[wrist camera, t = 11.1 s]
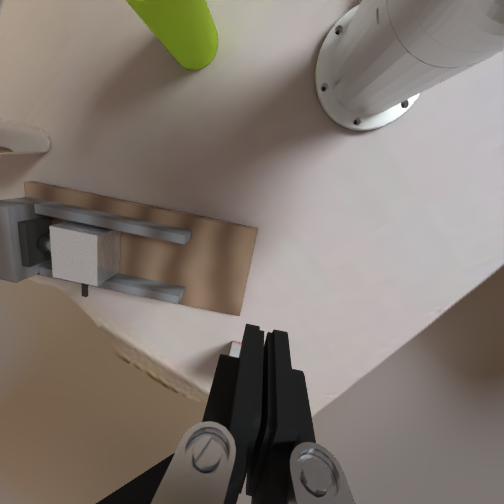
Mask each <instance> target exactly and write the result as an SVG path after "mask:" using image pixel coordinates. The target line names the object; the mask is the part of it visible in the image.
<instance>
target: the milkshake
mask: <svg viewBox="0 0 504 504" xmlns="http://www.w3.org/2000/svg"><path fill="white" fill-rule="evenodd" d="M50 146H51V144H50V139H49V136H48V135H47V134H46V133H45V131H44V130H41V129H39V128H36V127H33V126H29V125H25V124H21V123H18V122H14V121H10V120H6V119H3V118H0V155H3V154H42V153H45V152H48V150H49V148H50Z"/></svg>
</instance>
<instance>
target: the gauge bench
mask: <svg viewBox="0 0 504 504" xmlns="http://www.w3.org/2000/svg"><path fill="white" fill-rule="evenodd" d="M24 187H25V197H24V198H16V199H7V200H0V279H1V280H6V281H11V282H16V283H17V282H19V281H21V280H23V279H26V278H28V277H30V276H32V275H35V274H39V275H42V276H47V277H52V278H55V277H53V273H52V258H51V252H46V251H41V250H39V249H38V247H37V241H38V239H39V237H40V236H41V235H43V234H50V227H49V226H51V225H55V224H59V223H63V222H67V221H75V222H80V223H84V224H89V225H94V226H99V227H104V228H108V229H113V230H118V231H120V255H119V272H118V273H116V274H115V275H113V276H112V277H110V278H109V279H108V280H106V281H105V282H103V283H102V284H100V285H99V286H95V287H100V288H105V289H110V290H114V291H119V292H124V293H129V294H134V295H138V296H143V297H148V298H153V299H158V300H162V301H167V302H172V303H177V304H183V305H188V306H193V307H198V308H202V309H207V310H212V311H217V312H222V313H226V314H231V315H236V316H240V312H241V307H242V302H243V297H244V293H245V288H246V283H247V278H248V273H249V269H250V264H251V259H252V254H253V250H254V245H255V240H256V235H257V230H258V228H255V227H250V226H245V225H241V224H236V223H231V222H226V221H221V220H217V219H212V218H207V217H202V216H197V215H193V214H188V213H183V212H178V211H173V210H169V209H164V208H159V207H154V206H149V205H145V204H140V203H135V202H130V201H125V200H121V199H116V198H111V197H106V196H101V195H97V194H92V193H87V192H82V191H77V190H73V189H68V188H63V187H58V186H53V185H49V184H44V183H39V182H34V181H31V182H24ZM57 279H60V278H57ZM62 280H65V279H62ZM66 281H69V280H66ZM71 282H74V281H71ZM76 283H79V282H76ZM81 284H82V283H81ZM88 285H89V284H88ZM90 286H93V285H90Z"/></svg>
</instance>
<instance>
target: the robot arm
mask: <svg viewBox="0 0 504 504" xmlns="http://www.w3.org/2000/svg"><path fill="white" fill-rule="evenodd" d="M336 32H338V33H339V35H337V34H336ZM502 50H504V0H362V2H361V3H360V4H359V5H356V6H355V7H353V8H352V9H350V10H349V11H348V12H346V13H345V14H344V15H343V16H342V17H341V18H340V19H339V20H338V21H337V22H336V23H335V24H334V26H333V27H332V28H331V30H330V31H329V33H328V34H327V36H326V38H325V40H324V42H323V44H322V47H321V49H320V52H319V54H318V59H317V63H316V69H315V85H316V92H317V95H318V99H319V101H320V103H321V105H322V107H323V109H324V111H325V112H326V113H327V114H328V116H329V117H330V118H331V119H332V120H334V121H335V122H336V123H337V124H339V125H341V126H343V127H345V128H348V129H352V130H358V131H367V130H373V129H377V128H380V127H383V126H385V125H387V124H389V123H392V122H393V121H395V120H396V119H398V118H399V117H401V116H402V115H403V114H404V113H405V112H407V111H408V110H409V109H410V108H411V106H412V105H413V104H414V102H415V101H416V100H417V99H418V97H419V95H420V94H421V92H423V91H425V90H427V89H429V88H431V87H433V86H435V85H437V84H439V83H441V82H443V81H445V80H447V79H449V78H451V77H452V76H454V75H456V74H458V73H460V72H462V71H464V70H466V69H468V68H470V67H472V66H474V65H476V64H478V63H480V62H482V61H484V60H486V59H488V58H490V57H491V56H493V55H495V54H497V53H499V52H501V51H502ZM322 87H324V88H325V91H322V90H321V88H322ZM401 104H403V107H401ZM354 121H356V122H357V124H356V125H354V123H353V122H354ZM259 328H260V327H259V326H255V325H250V324H246V327H245V331H244V336H243V340H242V345H241V349H240V354H239V358H237V357H233V356H228V355H223V354H220V357H219V361H218V364H217V368H216V372H215V376H214V379H213V383H212V387H211V391H210V394H209V398H208V402H207V406H206V409H205V413H204V417H203V421H202V422H201V423H198V424H196V425H194V426H193V427H191V428H190V429H189V430H188V431H187V432H186V434H185V435H184V437H183V438H182V440H181V442H180V444H179V446H178V448H177V450H176V452H175V453H174V454H172V455H171V456H169V457H167V458H166V459H164V460H163V461H161V462H160V463H158V464H157V465H155V466H153V467H152V468H150V469H149V470H147V471H146V472H144V473H143V474H141V475H140V476H138V477H136V478H135V479H134V480H132V481H130V482H129V483H127V484H126V485H124V486H123V487H121V488H120V489H118V490H116V491H115V492H113V493H112V494H110V495H109V496H107V497H106V498H104V499H103V500H101V501H99V502H98V503H96V504H236V502H237V499H238V495H239V493H241V491H242V488H243V484H244V480H245V477H246V474H247V481H246V495H249V496H252V502H251V504H355V502H354V499H353V496H352V493H351V491H350V488H349V485H348V482H347V480H346V477H345V474H344V472H343V470H342V468H341V466H340V464H339V462H338V461H337V460H336V458H335V457H334V456H333V454H332V453H330V452H329V451H328V450H327V449H326V448H324V447H323V446H321V445H319V444H317V443H316V441H315V435H314V429H313V423H312V417H311V411H310V406H309V400H308V394H307V388H306V382H305V376H304V373H303V371H300V370H295V369H292V366H291V358H290V349H289V340H288V333H287V332H284V331H279V330H273V332H272V333H270V332H268V333H267V337H266V340H265V344H264V331H261V330H259Z"/></svg>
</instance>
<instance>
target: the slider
mask: <svg viewBox="0 0 504 504" xmlns="http://www.w3.org/2000/svg"><path fill="white" fill-rule="evenodd" d="M49 227H50V234H43V235H41V236H40V237H39V239H38V241H37V247H38V249H39V250H41V251H46V252H51V258H52V273H53V277H55V278H60V279H65V280H69V281H74V282H79V283H82V296H84V297H87V296H88V284H89V285H93V286H99V285H100V284H102V283H103V282H105V281H106V280H108V279H109V278H110V277H112V276H113V275H115V274H116V273H118V272H119V255H120V231H118V230H113V229H108V228H104V227H99V226H94V225H89V224H84V223H80V222H75V221H67V222H63V223H59V224H55V225H51V226H49Z"/></svg>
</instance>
